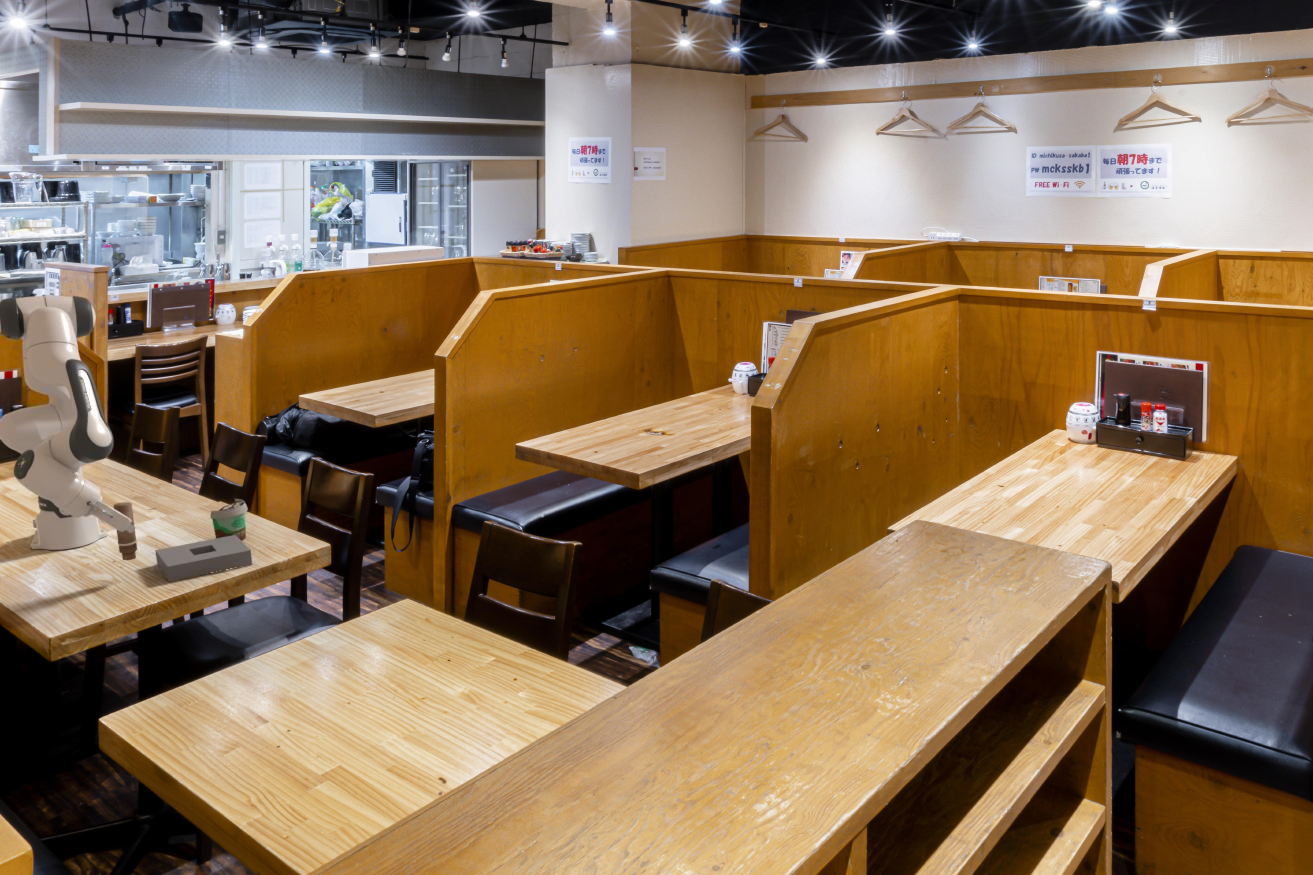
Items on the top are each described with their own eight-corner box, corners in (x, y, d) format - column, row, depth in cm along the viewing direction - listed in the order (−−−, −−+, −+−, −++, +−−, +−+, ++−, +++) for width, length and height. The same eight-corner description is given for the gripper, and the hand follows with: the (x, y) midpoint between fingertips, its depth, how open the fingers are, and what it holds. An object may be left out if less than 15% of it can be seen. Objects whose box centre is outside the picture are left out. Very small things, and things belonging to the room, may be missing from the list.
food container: (234, 547, 286) (230, 512, 284) (213, 546, 287) (209, 511, 285) (259, 533, 298) (255, 499, 295) (239, 531, 299) (236, 498, 297)
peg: (118, 557, 263) (111, 503, 259) (136, 553, 265) (130, 500, 262) (121, 562, 260) (114, 508, 256) (140, 558, 262) (133, 505, 258)
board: (157, 564, 274) (155, 550, 273) (237, 548, 285) (235, 534, 284) (169, 581, 262) (167, 566, 261) (252, 564, 273) (250, 550, 272)
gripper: (106, 496, 246) (154, 526, 255) (74, 479, 259) (120, 507, 269) (88, 519, 244) (137, 548, 253) (57, 500, 257) (104, 528, 267)
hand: (128, 527), depth 261 cm, fingers closed on peg, 4 cm apart
